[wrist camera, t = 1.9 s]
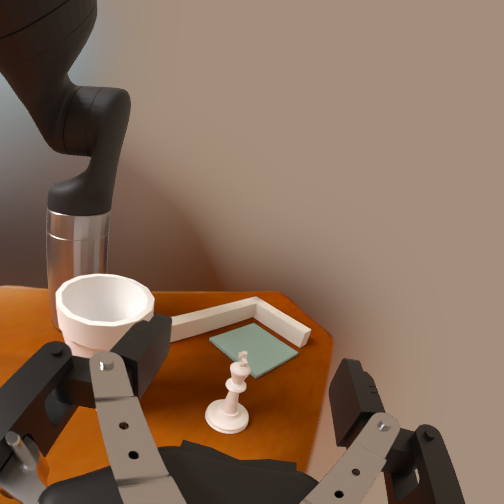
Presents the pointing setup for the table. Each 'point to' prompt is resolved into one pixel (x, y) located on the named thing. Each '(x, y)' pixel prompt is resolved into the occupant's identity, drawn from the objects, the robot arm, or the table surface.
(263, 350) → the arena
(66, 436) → the table surface
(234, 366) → the chess piece
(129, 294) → the foam cup
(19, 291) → the table surface
